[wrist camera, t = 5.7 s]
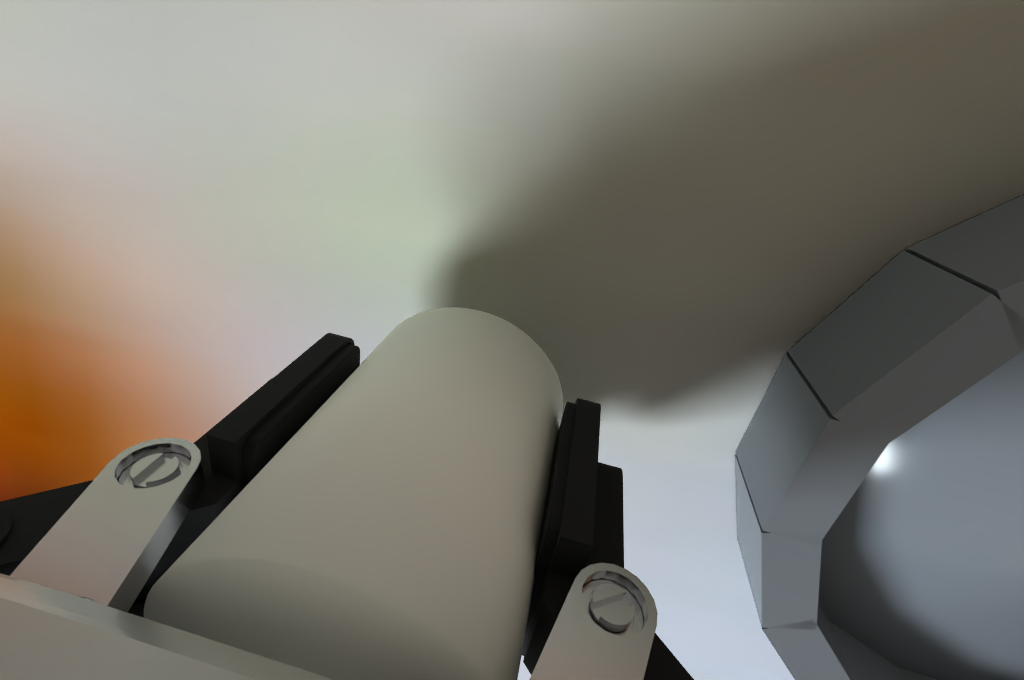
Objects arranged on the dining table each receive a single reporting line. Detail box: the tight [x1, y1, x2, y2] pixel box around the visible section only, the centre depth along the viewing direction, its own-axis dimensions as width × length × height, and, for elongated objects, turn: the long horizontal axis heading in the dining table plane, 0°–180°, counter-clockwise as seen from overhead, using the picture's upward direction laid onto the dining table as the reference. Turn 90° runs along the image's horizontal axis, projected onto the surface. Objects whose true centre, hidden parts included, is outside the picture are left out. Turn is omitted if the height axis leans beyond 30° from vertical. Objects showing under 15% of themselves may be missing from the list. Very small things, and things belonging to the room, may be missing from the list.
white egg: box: [144, 307, 563, 680], centre depth 9 cm, size 5×5×7 cm
